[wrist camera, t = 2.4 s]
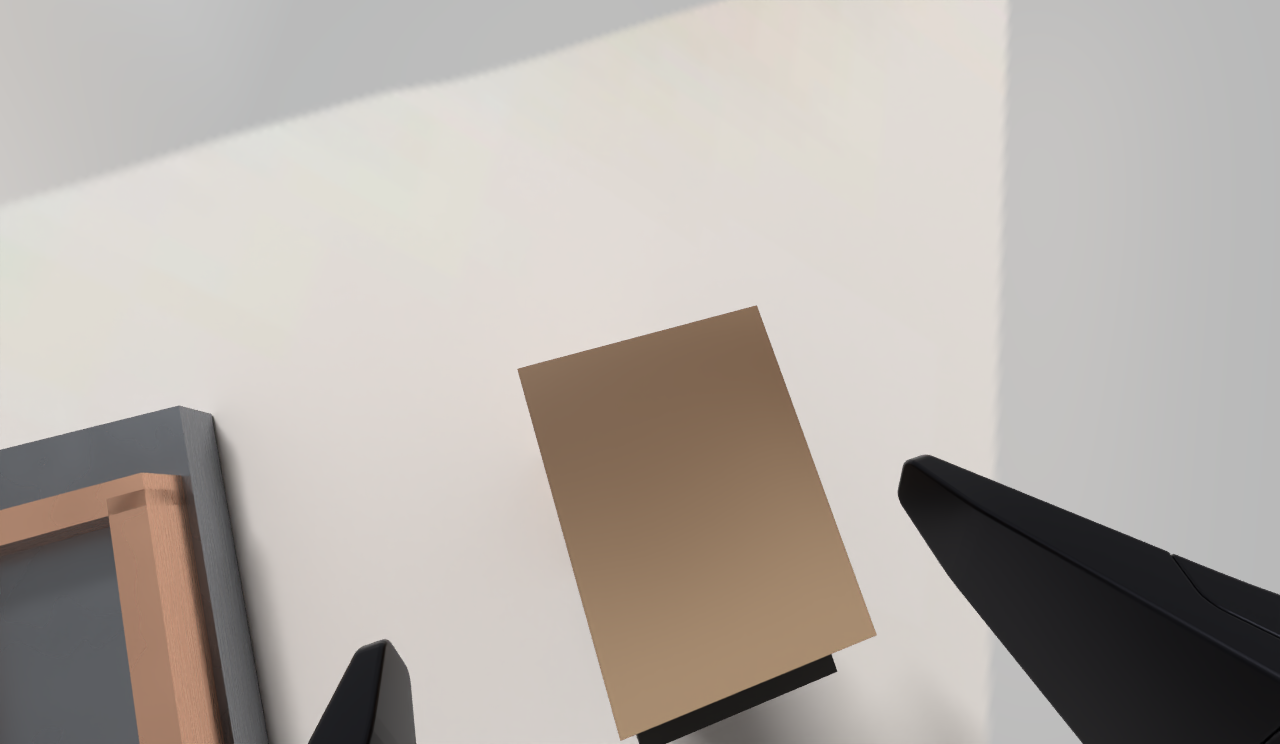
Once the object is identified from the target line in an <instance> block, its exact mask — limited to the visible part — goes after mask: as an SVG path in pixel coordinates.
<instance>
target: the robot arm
mask: <svg viewBox="0 0 1280 744" xmlns="http://www.w3.org/2000/svg"><path fill="white" fill-rule="evenodd" d="M898 497H899V501H900V503H901V505H902V507H903V508H904V510H905V511H906V513H907V514H908V516H909V517H910V519H911V520H912V522H913V523H914V525H915V526H916V528H917V529H918V531H919V532H920V534H921V535H922V537H923V539H924V540H925V542H926V543H927V545H928V546H929V548H930V549H931V551H932V552H933V554H934V555H935V557H936V558H937V560H938V561H939V563H940V564H941V566H942V567H943V569H944V570H945V572H946V573H947V574H948V576H949V577H950V579H951V580H952V581H953V583H954V584H955V585H956V586H957V588H958V589H959V590H960V592H961V593H962V594H963V595H964V596H965V598H966V599H967V600H968V601H969V603H970V604H971V605H972V606H973V608H974V609H975V610H976V611H977V613H978V614H979V615H980V616H981V618H982V619H983V620H984V621H985V623H986V624H987V625H988V626H989V628H990V629H991V630H992V631H993V633H994V634H995V635H996V636H997V638H998V639H999V640H1000V641H1001V642H1002V644H1003V645H1004V646H1005V647H1006V648H1007V650H1008V651H1009V652H1010V654H1011V655H1012V656H1013V657H1014V658H1015V660H1016V661H1017V662H1018V664H1019V665H1020V666H1021V667H1022V669H1023V670H1024V671H1025V672H1026V674H1027V675H1028V676H1029V677H1030V679H1031V680H1032V681H1033V682H1034V684H1035V685H1036V686H1037V687H1038V688H1039V690H1040V691H1041V692H1042V693H1043V695H1044V696H1045V697H1046V698H1047V700H1048V701H1049V702H1050V703H1051V705H1052V706H1053V707H1054V708H1055V710H1056V711H1057V712H1058V713H1059V715H1060V716H1061V717H1062V718H1063V720H1064V721H1065V722H1066V723H1067V725H1068V726H1069V727H1070V728H1071V730H1072V731H1073V732H1074V733H1075V734H1076V736H1077V737H1078V738H1079V739H1080V741H1081V742H1082V743H1083V744H1280V595H1279V594H1276V593H1273V592H1271V591H1268V590H1265V589H1262V588H1259V587H1257V586H1254V585H1251V584H1248V583H1246V582H1243V581H1241V580H1238V579H1236V578H1233V577H1230V576H1228V575H1225V574H1223V573H1220V572H1217V571H1215V570H1213V569H1210V568H1207V567H1205V566H1202V565H1200V564H1197V563H1195V562H1193V561H1190V560H1188V559H1185V558H1183V557H1180V556H1178V555H1175V554H1173V555H1170V553H1169V552H1167V551H1165V550H1163V549H1160V548H1158V547H1155V546H1153V545H1150V544H1148V543H1145V542H1143V541H1140V540H1138V539H1135V538H1133V537H1131V536H1128V535H1126V534H1123V533H1121V532H1118V531H1116V530H1113V529H1111V528H1108V527H1106V526H1103V525H1101V524H1099V523H1096V522H1094V521H1091V520H1089V519H1086V518H1084V517H1081V516H1079V515H1076V514H1074V513H1072V512H1069V511H1066V510H1064V509H1062V508H1059V507H1057V506H1054V505H1052V504H1049V503H1047V502H1044V501H1042V500H1039V499H1037V498H1035V497H1032V496H1029V495H1027V494H1025V493H1022V492H1020V491H1017V490H1015V489H1012V488H1010V487H1007V486H1005V485H1003V484H1000V483H998V482H995V481H993V480H990V479H988V478H985V477H983V476H981V475H978V474H976V473H973V472H971V471H968V470H966V469H963V468H961V467H958V466H956V465H953V464H951V463H949V462H946V461H944V460H941V459H939V458H936V457H934V456H931V455H921V456H918V457H915V458H912V459H909V460H907V461H906V462H905V463H904V465H903V468H902V473H901V478H900V482H899V487H898ZM308 744H416V737H415V726H414V715H413V704H412V693H411V682H410V676H409V672H408V669H407V667H406V665H405V663H404V662H403V660H402V659H401V657H400V656H399V654H398V653H397V651H396V649H395V648H394V646H393V645H392V643H391V642H390V641H389V640H386V639H383V640H380V641H377V642H374V643H371V644H368V645H365V646H363V647H361V648H359V649H358V650H357V651H356V653H355V654H354V656H353V658H352V660H351V662H350V664H349V666H348V668H347V670H346V671H345V673H344V675H343V677H342V679H341V681H340V683H339V685H338V687H337V689H336V691H335V693H334V695H333V696H332V698H331V700H330V702H329V704H328V706H327V708H326V710H325V712H324V714H323V716H322V718H321V719H320V721H319V723H318V725H317V727H316V729H315V731H314V733H313V735H312V737H311V739H310V741H309V743H308Z"/></svg>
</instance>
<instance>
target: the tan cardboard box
mask: <svg viewBox="0 0 1280 744" xmlns="http://www.w3.org/2000/svg"><path fill="white" fill-rule="evenodd" d="M518 373H519V377H520V380H521V384H522V387H523V391H524V395H525V398H526V402H527V405H528V409H529V413H530V416H531V420H532V424H533V427H534V431H535V434H536V438H537V442H538V445H539V449H540V452H541V456H542V460H543V463H544V467H545V470H546V474H547V478H548V481H549V485H550V488H551V492H552V496H553V499H554V503H555V506H556V510H557V514H558V517H559V521H560V524H561V528H562V532H563V535H564V539H565V542H566V546H567V550H568V553H569V557H570V561H571V564H572V568H573V571H574V575H575V579H576V582H577V586H578V589H579V593H580V597H581V600H582V604H583V607H584V611H585V615H586V618H587V622H588V625H589V629H590V633H591V636H592V640H593V643H594V647H595V651H596V654H597V658H598V661H599V665H600V669H601V672H602V676H603V679H604V683H605V687H606V690H607V694H608V697H609V701H610V705H611V708H612V712H613V716H614V719H615V723H616V726H617V730H618V734H619V737H620V741H621V740H624V739H626V738H629V737H631V736H633V735H636V736H637V739H638V742H639V744H666V743H669V742H671V741H673V740H676V739H678V738H681V737H683V736H685V735H688V734H690V733H692V732H695V731H697V730H700V729H702V728H704V727H707V726H709V725H711V724H714V723H716V722H719V721H721V720H723V719H726V718H728V717H731V716H733V715H735V714H738V713H740V712H742V711H745V710H747V709H750V708H752V707H754V706H757V705H759V704H761V703H764V702H766V701H769V700H771V699H773V698H776V697H778V696H780V695H783V694H785V693H788V692H790V691H792V690H795V689H797V688H799V687H802V686H804V685H807V684H809V683H811V682H814V681H816V680H818V679H821V678H823V677H826V676H828V675H830V674H833V673H835V672H837V669H836V666H835V663H834V660H833V658H832V655H831V654H832V653H835V652H837V651H839V650H842V649H844V648H847V647H849V646H852V645H854V644H856V643H859V642H861V641H864V640H866V639H868V638H871V637H873V636H876V632H875V629H874V627H873V624H872V621H871V618H870V616H869V613H868V610H867V607H866V605H865V602H864V599H863V596H862V594H861V591H860V588H859V585H858V583H857V580H856V577H855V574H854V572H853V569H852V566H851V563H850V561H849V558H848V555H847V552H846V550H845V547H844V544H843V541H842V539H841V536H840V533H839V530H838V528H837V525H836V522H835V519H834V517H833V514H832V511H831V508H830V506H829V503H828V500H827V497H826V495H825V492H824V489H823V486H822V484H821V481H820V478H819V475H818V473H817V470H816V467H815V464H814V462H813V459H812V456H811V453H810V451H809V448H808V445H807V442H806V440H805V437H804V434H803V431H802V429H801V426H800V423H799V420H798V417H797V415H796V412H795V409H794V406H793V404H792V401H791V398H790V395H789V393H788V390H787V387H786V384H785V382H784V379H783V376H782V373H781V371H780V368H779V365H778V362H777V360H776V357H775V354H774V351H773V349H772V346H771V343H770V340H769V338H768V335H767V332H766V329H765V327H764V324H763V321H762V318H761V316H760V313H759V310H758V307H757V306H753V307H749V308H745V309H742V310H738V311H734V312H730V313H726V314H723V315H719V316H715V317H711V318H708V319H704V320H700V321H696V322H692V323H689V324H685V325H681V326H677V327H674V328H670V329H666V330H662V331H659V332H655V333H651V334H647V335H643V336H640V337H636V338H632V339H628V340H625V341H621V342H617V343H613V344H609V345H606V346H602V347H598V348H594V349H591V350H587V351H583V352H579V353H575V354H572V355H568V356H564V357H560V358H557V359H553V360H549V361H545V362H541V363H538V364H534V365H530V366H526V367H523V368H519V369H518Z"/></svg>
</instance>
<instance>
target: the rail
mask: <svg viewBox="0 0 1280 744" xmlns="http://www.w3.org/2000/svg"><path fill="white" fill-rule="evenodd" d="M0 744H269V743H268V737H267V731H266V725H265V720H264V714H263V708H262V702H261V697H260V691H259V685H258V679H257V674H256V668H255V662H254V656H253V651H252V645H251V639H250V633H249V628H248V622H247V616H246V610H245V605H244V599H243V593H242V587H241V582H240V576H239V570H238V564H237V559H236V553H235V547H234V541H233V536H232V530H231V524H230V518H229V513H228V507H227V501H226V496H225V490H224V484H223V478H222V473H221V467H220V461H219V455H218V450H217V444H216V438H215V432H214V427H213V421H212V415H211V414H209V413H205V412H201V411H198V410H194V409H190V408H186V407H182V406H176V407H171V408H167V409H163V410H159V411H155V412H151V413H147V414H143V415H139V416H135V417H131V418H127V419H123V420H119V421H115V422H111V423H107V424H103V425H99V426H95V427H91V428H87V429H83V430H79V431H75V432H71V433H67V434H63V435H59V436H55V437H51V438H46V439H42V440H38V441H34V442H30V443H26V444H22V445H18V446H14V447H10V448H6V449H2V450H0Z"/></svg>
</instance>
